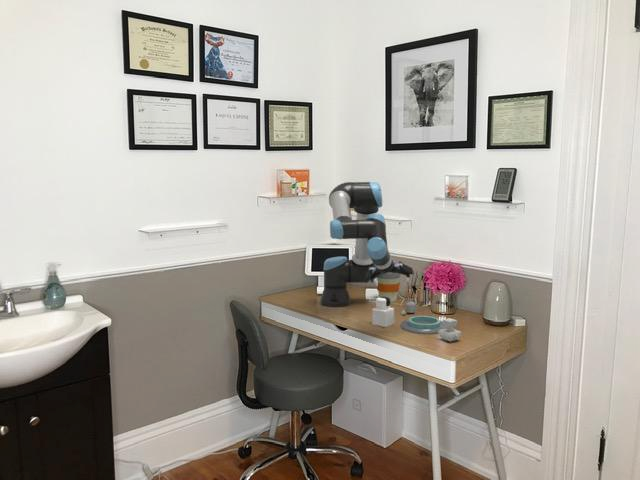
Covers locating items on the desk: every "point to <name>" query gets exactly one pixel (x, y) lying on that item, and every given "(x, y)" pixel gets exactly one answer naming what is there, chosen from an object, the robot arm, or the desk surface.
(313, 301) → the desk surface
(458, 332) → the stamp
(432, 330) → the ring dish
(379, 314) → the medicine bottle
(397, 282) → the reusable coffee cup
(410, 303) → the reed diffuser
